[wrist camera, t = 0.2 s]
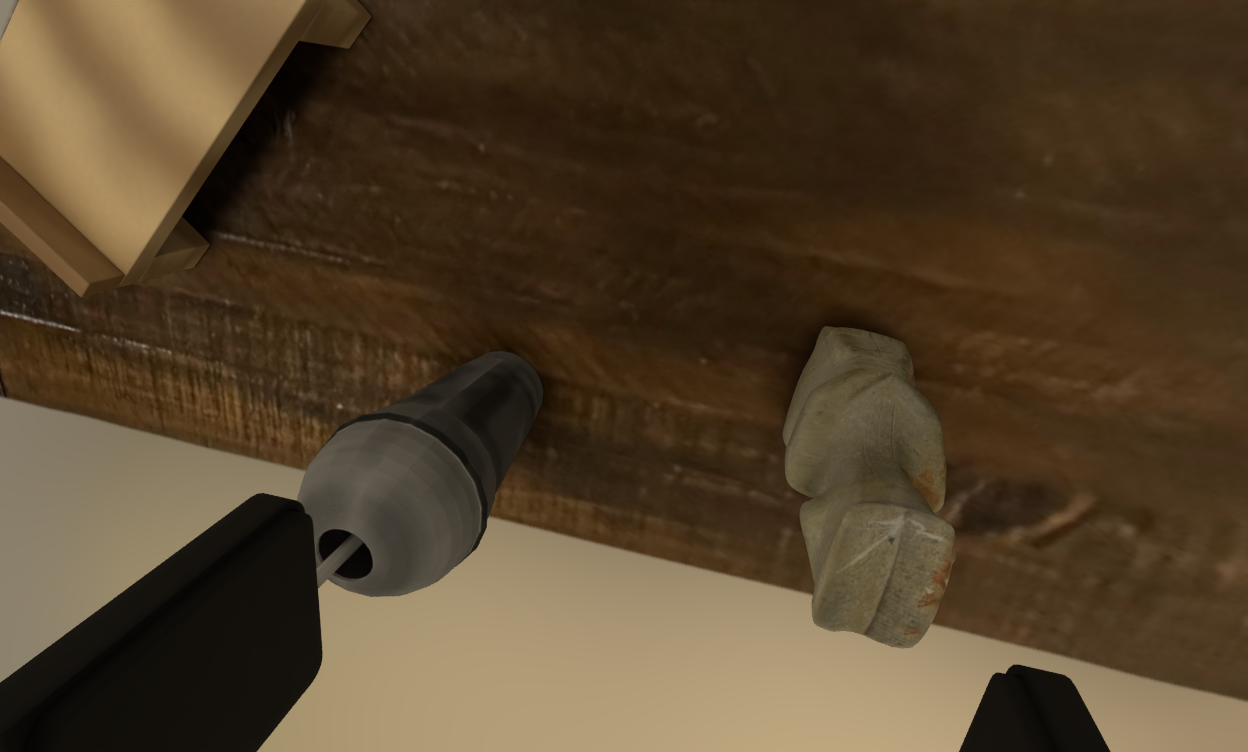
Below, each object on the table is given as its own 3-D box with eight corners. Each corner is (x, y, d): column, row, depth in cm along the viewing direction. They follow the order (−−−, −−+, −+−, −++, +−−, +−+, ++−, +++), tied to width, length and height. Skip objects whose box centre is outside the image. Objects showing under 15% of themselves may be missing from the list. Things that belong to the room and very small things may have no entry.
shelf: (211, -160, 30) (62, -233, 24) (373, 16, 32) (272, -9, 25) (56, 133, 37) (-92, 136, 31) (194, 267, 39) (80, 298, 32)
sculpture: (761, 428, 35) (756, 628, 21) (807, 299, 32) (835, 434, 19) (871, 461, 35) (939, 688, 21) (928, 332, 32) (1049, 497, 18)
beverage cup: (594, 407, 37) (421, 697, 18) (499, 469, 39) (265, 777, 21) (510, 300, 35) (235, 497, 17) (417, 371, 38) (93, 608, 20)
